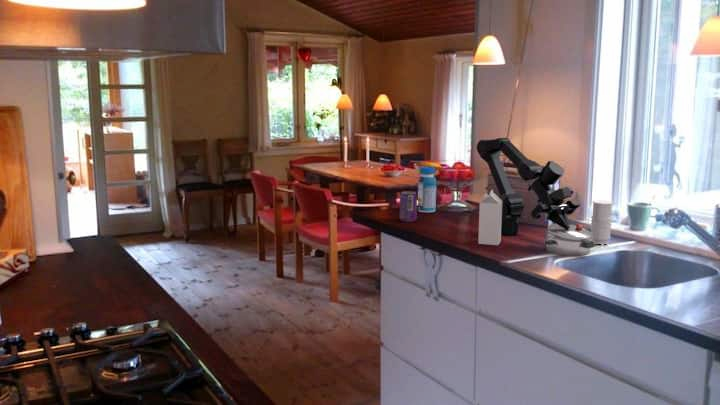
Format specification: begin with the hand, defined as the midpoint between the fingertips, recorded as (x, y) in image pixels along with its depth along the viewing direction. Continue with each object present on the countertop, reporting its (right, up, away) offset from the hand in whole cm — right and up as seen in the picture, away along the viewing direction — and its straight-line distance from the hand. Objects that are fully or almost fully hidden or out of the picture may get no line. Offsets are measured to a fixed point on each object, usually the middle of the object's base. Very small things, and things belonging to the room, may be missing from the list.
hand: (568, 229), depth 218 cm
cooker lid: (0, -1, 0) cm, 1 cm away
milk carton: (-24, -6, +12) cm, 28 cm away
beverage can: (-51, +1, +51) cm, 72 cm away
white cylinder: (+15, -6, +12) cm, 20 cm away
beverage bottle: (-41, +5, +72) cm, 83 cm away
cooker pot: (+1, -8, 0) cm, 8 cm away
